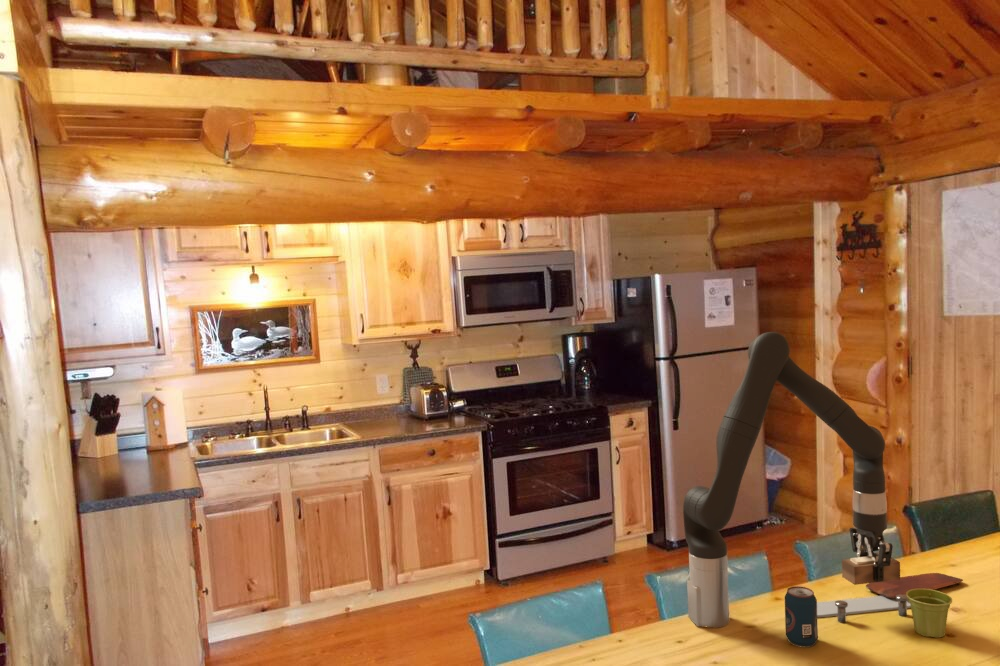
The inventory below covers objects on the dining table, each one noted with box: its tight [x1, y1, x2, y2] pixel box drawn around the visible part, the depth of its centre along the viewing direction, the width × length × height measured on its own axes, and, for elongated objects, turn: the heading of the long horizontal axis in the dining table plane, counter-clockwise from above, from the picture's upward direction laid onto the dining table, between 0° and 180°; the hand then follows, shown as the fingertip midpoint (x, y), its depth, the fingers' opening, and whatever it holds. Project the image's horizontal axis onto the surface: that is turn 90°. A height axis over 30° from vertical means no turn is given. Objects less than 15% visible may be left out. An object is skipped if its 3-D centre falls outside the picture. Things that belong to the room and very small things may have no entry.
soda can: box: [784, 585, 819, 648], centre depth 171 cm, size 7×7×12 cm
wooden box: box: [841, 555, 901, 586], centre depth 181 cm, size 12×5×5 cm, turn 98°
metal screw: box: [835, 599, 848, 624], centre depth 181 cm, size 3×3×5 cm
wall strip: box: [817, 595, 911, 619], centre depth 188 cm, size 26×7×1 cm, turn 97°
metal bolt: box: [896, 594, 909, 617], centre depth 182 cm, size 3×3×5 cm
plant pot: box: [906, 589, 953, 639], centre depth 173 cm, size 9×9×9 cm
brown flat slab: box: [865, 572, 964, 598], centre depth 197 cm, size 27×10×2 cm, turn 110°
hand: (871, 576), depth 181 cm, fingers closed on wooden box, 5 cm apart
